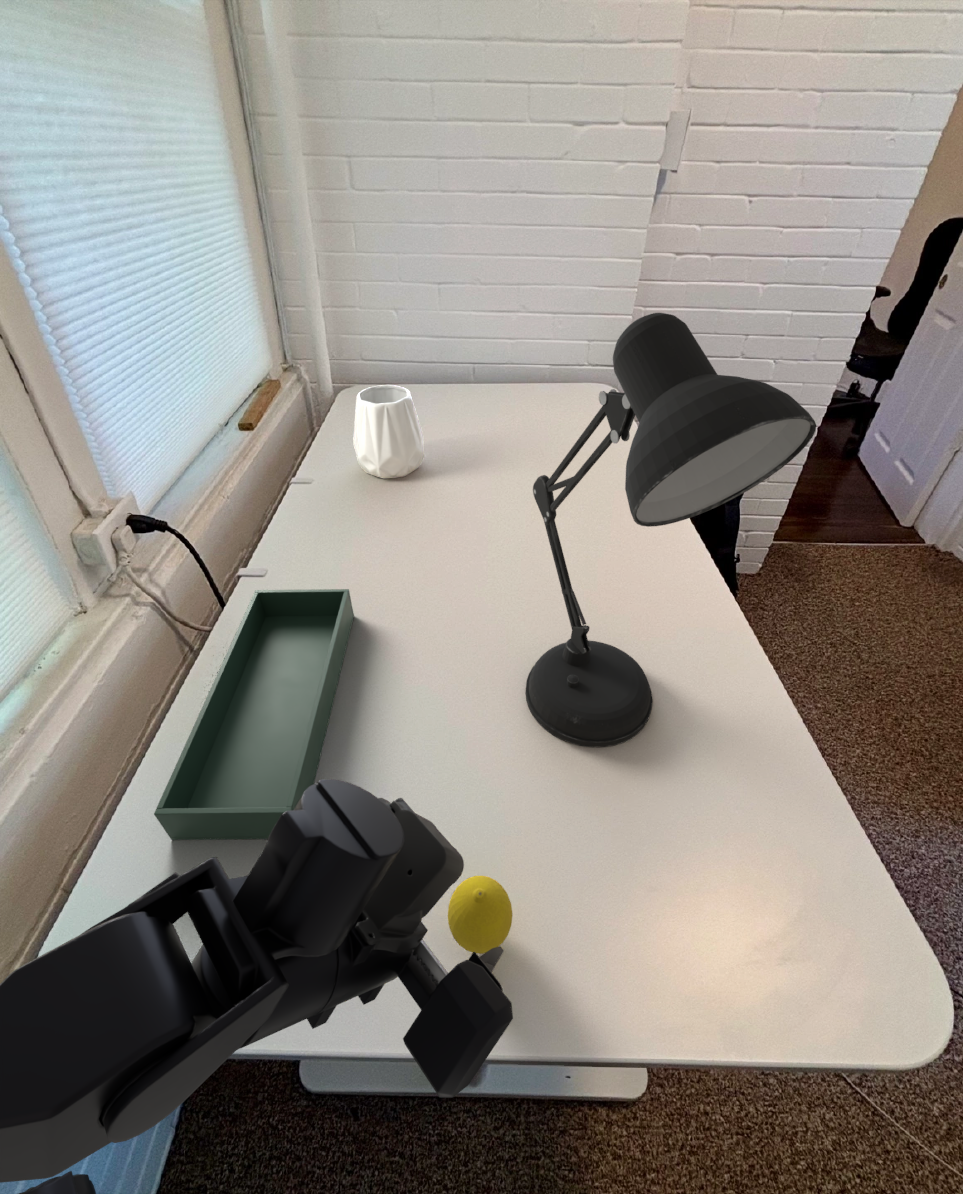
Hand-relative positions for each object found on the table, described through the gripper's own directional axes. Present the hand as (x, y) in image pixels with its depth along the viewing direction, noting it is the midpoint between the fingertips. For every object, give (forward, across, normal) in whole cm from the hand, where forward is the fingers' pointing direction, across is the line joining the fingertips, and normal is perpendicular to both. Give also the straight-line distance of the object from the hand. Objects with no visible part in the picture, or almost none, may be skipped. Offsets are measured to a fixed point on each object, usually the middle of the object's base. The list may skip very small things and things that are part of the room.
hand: (458, 904), depth 46 cm
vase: (+41, +79, -27) cm, 93 cm away
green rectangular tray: (+7, +36, +6) cm, 37 cm away
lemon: (+8, 0, +5) cm, 10 cm away
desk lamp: (+28, +11, -14) cm, 34 cm away
